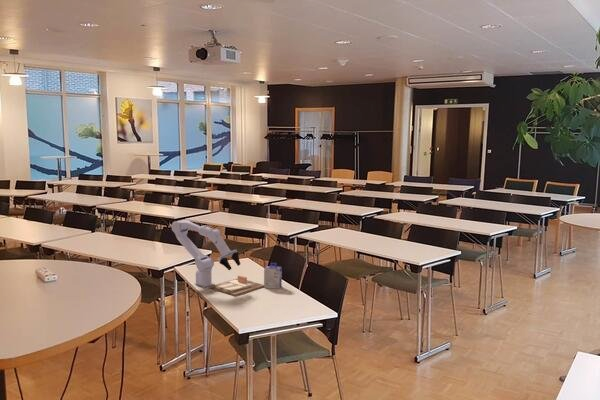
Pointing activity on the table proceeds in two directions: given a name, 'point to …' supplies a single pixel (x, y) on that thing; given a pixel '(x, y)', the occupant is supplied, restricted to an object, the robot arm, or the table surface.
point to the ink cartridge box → (273, 276)
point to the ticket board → (235, 287)
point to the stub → (241, 281)
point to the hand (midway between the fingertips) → (234, 267)
